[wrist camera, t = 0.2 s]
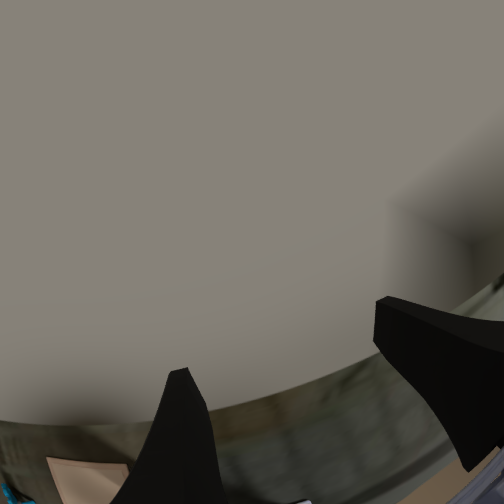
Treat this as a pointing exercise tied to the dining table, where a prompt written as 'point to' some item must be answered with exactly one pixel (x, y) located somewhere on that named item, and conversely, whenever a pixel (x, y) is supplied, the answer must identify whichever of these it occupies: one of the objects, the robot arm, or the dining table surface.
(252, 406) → the dining table surface
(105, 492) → the pink flat board
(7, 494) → the blue virus model
